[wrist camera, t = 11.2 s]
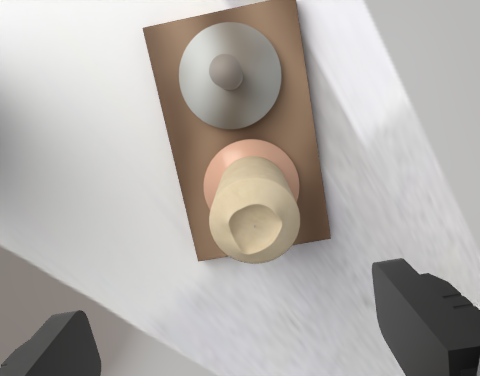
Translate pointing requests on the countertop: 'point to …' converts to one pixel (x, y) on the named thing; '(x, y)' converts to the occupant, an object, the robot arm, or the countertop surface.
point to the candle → (254, 211)
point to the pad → (242, 150)
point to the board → (237, 103)
